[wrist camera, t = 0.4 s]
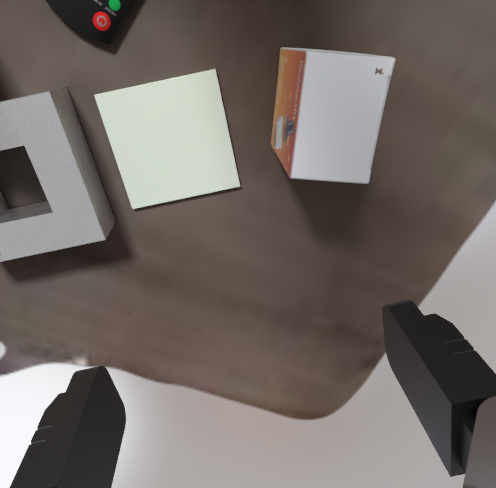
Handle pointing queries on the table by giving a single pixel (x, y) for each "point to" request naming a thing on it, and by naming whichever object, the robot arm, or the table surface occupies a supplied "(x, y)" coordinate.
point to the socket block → (52, 178)
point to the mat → (170, 138)
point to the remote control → (93, 16)
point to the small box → (329, 113)
